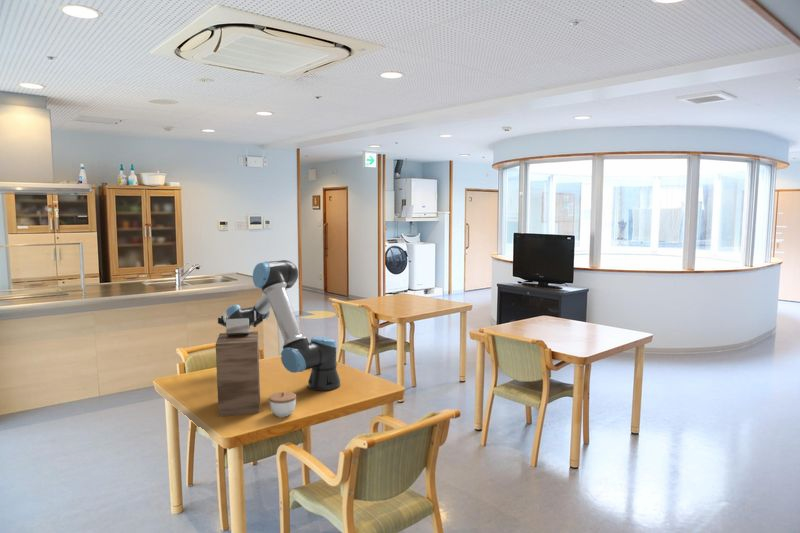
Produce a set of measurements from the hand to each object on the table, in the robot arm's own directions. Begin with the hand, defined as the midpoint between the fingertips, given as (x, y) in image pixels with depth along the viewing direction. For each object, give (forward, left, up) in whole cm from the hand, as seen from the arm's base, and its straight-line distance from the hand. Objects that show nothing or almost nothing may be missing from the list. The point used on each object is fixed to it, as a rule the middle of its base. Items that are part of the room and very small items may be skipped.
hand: (239, 314), depth 249 cm
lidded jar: (-33, +22, -36) cm, 54 cm away
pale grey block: (-5, +8, -9) cm, 13 cm away
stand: (-11, +19, -36) cm, 42 cm away
